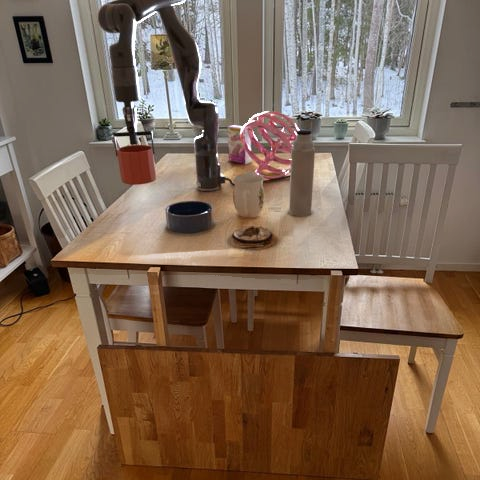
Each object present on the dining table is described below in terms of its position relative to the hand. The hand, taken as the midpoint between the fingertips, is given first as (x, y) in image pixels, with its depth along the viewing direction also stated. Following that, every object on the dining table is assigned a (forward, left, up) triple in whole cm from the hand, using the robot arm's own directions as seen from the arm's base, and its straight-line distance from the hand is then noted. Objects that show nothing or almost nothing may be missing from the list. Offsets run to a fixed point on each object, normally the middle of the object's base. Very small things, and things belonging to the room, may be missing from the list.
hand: (134, 143), depth 151 cm
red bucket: (0, 0, -12) cm, 12 cm away
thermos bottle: (-52, +19, -27) cm, 62 cm away
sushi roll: (-25, +33, -27) cm, 49 cm away
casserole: (-12, +12, -27) cm, 32 cm away
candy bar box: (-66, -57, -27) cm, 92 cm away
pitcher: (-34, +13, -27) cm, 45 cm away
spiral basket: (-68, -28, -27) cm, 79 cm away
